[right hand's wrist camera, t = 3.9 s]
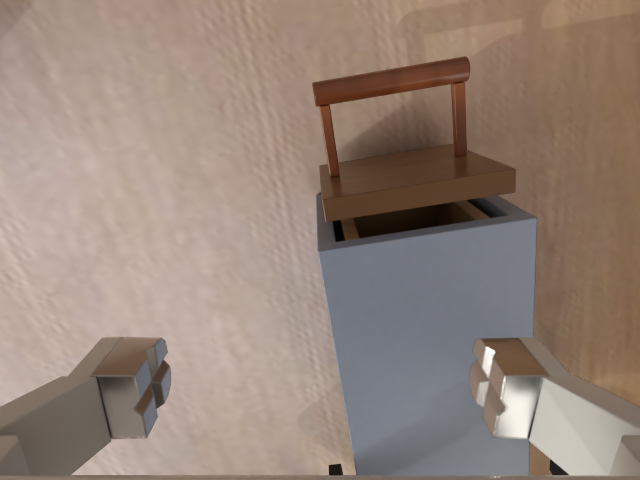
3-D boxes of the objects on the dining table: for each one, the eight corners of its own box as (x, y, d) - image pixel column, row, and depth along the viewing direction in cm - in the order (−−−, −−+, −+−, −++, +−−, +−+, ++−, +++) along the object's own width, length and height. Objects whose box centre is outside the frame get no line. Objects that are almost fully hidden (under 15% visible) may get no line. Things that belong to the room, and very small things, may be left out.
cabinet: (316, 194, 30) (317, 251, 20) (457, 171, 30) (537, 217, 19) (351, 404, 38) (366, 529, 27) (466, 388, 37) (528, 509, 26)
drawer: (306, 84, 27) (302, 82, 18) (448, 60, 26) (517, 45, 18) (353, 380, 35) (367, 477, 27) (461, 364, 35) (512, 458, 26)
